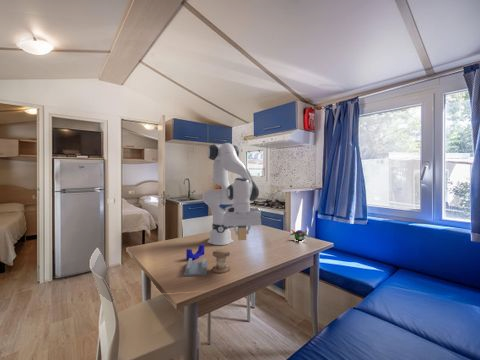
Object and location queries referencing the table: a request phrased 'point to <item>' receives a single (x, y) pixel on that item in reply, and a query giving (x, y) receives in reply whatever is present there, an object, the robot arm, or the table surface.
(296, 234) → the toy animal
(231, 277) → the table surface
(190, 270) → the grey channel bracket
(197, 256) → the blue curved block
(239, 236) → the grey and tan block
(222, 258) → the door knob
